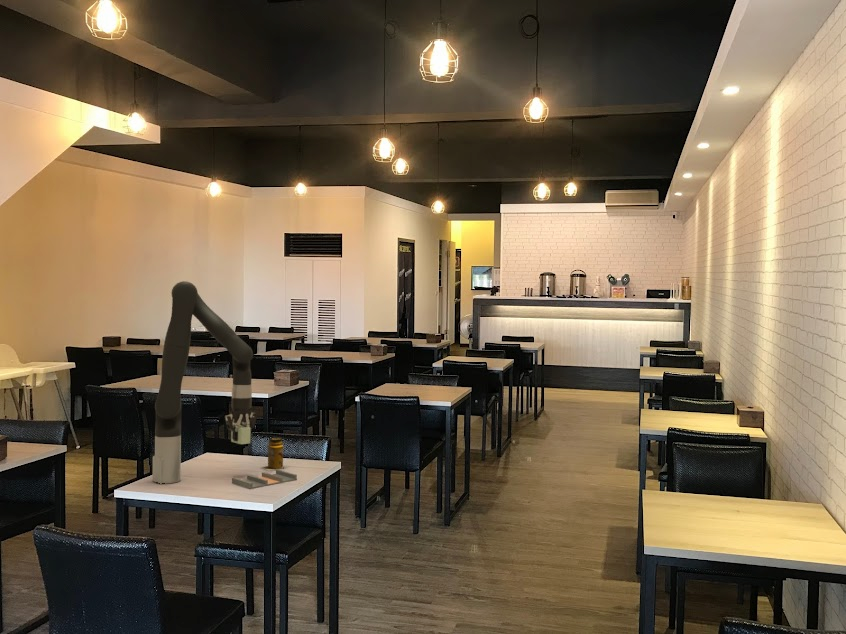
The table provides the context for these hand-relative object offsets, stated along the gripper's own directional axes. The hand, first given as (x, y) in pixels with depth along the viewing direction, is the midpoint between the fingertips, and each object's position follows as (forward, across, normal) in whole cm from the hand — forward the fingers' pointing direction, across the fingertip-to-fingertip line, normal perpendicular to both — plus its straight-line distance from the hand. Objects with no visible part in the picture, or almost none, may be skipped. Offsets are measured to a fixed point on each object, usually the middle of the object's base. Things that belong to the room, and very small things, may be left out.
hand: (240, 440), depth 297 cm
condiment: (+14, -18, -4) cm, 23 cm away
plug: (+1, 0, 0) cm, 1 cm away
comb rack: (+14, -2, +13) cm, 19 cm away
